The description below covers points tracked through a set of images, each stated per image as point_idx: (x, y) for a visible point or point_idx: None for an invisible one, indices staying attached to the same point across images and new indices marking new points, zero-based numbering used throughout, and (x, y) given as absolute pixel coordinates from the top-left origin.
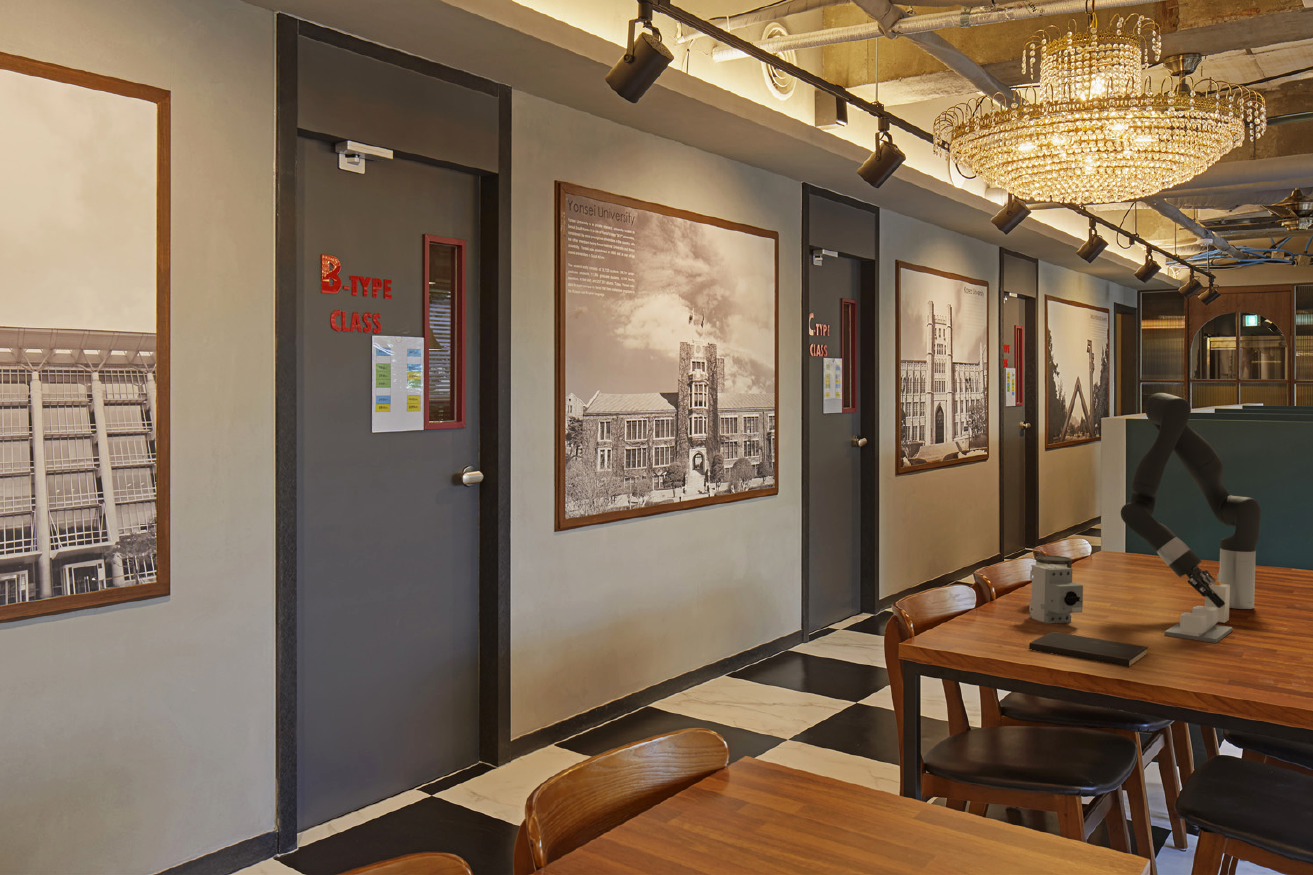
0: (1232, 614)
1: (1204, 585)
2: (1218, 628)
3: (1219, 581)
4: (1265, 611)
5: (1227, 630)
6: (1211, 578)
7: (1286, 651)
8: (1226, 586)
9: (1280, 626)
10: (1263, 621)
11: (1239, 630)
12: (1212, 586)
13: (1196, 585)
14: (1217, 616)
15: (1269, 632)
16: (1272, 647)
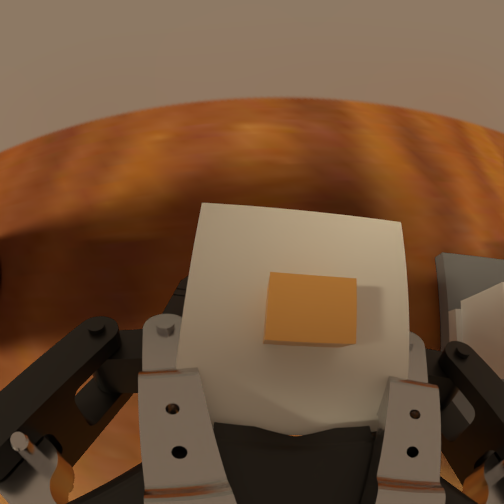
0: (80, 295)
1: (500, 390)
2: (486, 288)
3: (331, 283)
4: (10, 210)
5: (489, 259)
6: (150, 413)
7: (501, 148)
8: (358, 219)
9: (225, 137)
10: (162, 185)
11: (408, 238)
12: (401, 354)
13: (488, 453)
14: (475, 294)
15: (359, 158)
16: (500, 166)
